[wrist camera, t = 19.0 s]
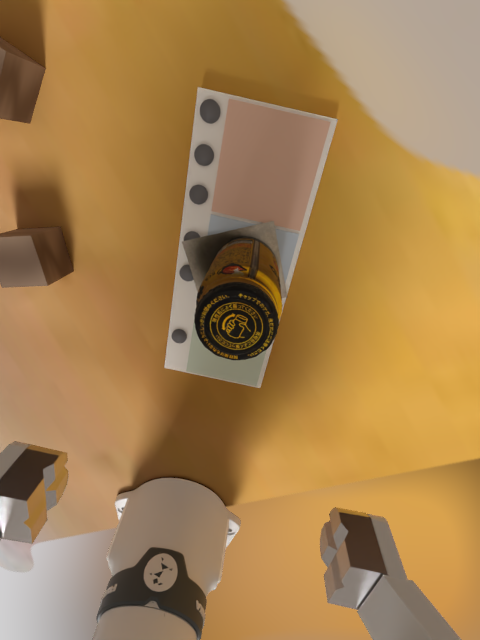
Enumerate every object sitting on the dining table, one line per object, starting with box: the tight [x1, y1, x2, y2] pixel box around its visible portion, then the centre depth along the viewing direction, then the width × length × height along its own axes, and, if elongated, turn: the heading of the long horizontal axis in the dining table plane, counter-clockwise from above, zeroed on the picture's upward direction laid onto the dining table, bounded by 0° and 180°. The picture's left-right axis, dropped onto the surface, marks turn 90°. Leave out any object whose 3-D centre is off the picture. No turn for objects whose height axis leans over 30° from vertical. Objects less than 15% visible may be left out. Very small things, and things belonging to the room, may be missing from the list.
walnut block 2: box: [0, 227, 74, 288], centre depth 31 cm, size 4×4×4 cm
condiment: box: [182, 221, 287, 360], centre depth 25 cm, size 7×8×12 cm
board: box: [164, 87, 338, 388], centre depth 31 cm, size 26×11×1 cm, turn 169°
